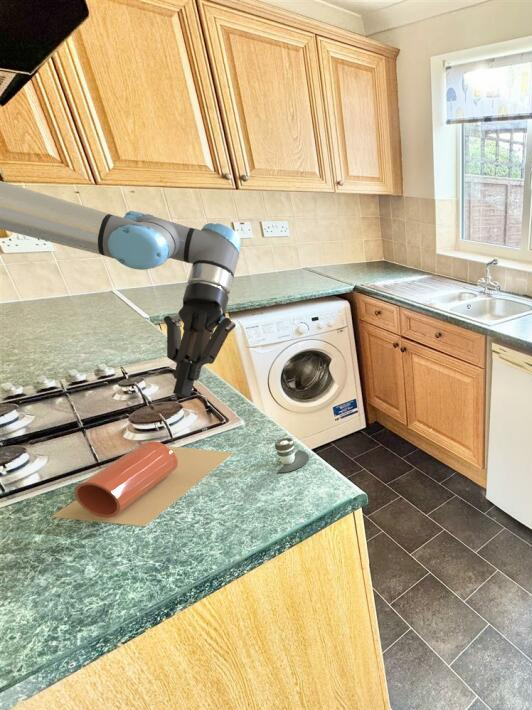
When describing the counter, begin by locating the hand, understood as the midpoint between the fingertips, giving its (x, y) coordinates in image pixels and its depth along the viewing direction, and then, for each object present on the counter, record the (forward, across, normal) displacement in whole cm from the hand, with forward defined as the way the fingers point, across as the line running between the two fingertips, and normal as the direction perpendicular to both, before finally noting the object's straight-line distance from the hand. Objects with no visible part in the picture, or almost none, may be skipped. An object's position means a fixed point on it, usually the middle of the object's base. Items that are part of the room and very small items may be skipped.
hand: (181, 395), depth 81 cm
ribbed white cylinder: (+12, -20, -6) cm, 24 cm away
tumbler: (+12, +1, 0) cm, 12 cm away
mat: (+17, +2, -1) cm, 17 cm away
